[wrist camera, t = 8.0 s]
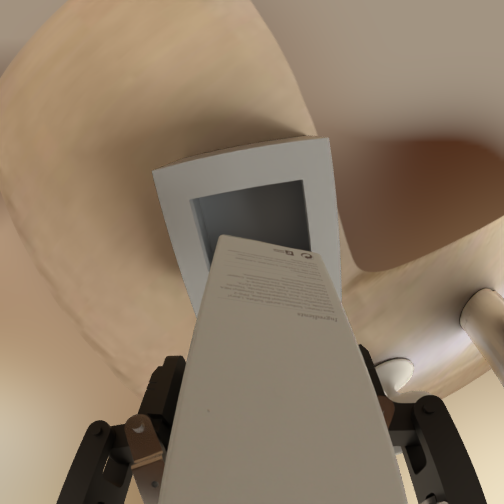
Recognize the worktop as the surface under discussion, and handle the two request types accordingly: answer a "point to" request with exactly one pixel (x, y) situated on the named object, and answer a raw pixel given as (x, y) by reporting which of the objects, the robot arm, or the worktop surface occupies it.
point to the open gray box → (251, 203)
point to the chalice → (398, 383)
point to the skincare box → (276, 391)
